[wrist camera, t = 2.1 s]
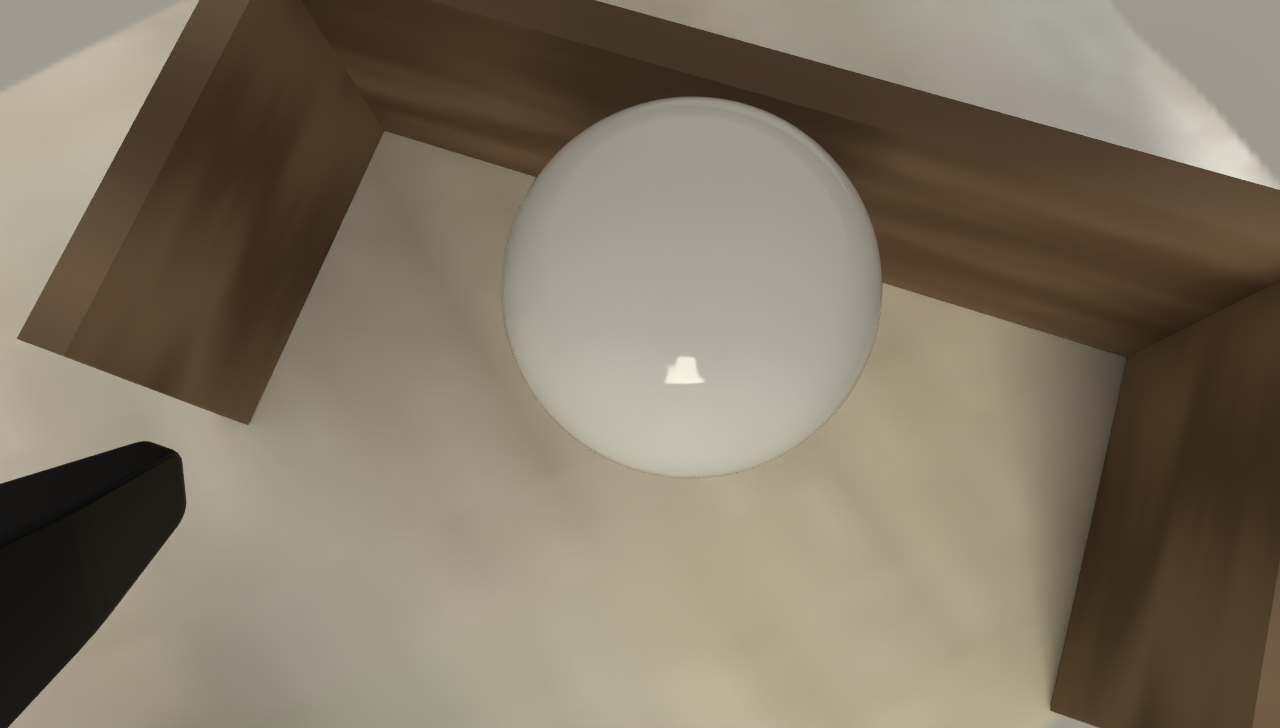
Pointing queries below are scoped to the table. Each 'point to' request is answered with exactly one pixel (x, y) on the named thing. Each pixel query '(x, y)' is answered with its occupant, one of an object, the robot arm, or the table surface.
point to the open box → (903, 224)
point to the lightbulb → (691, 287)
